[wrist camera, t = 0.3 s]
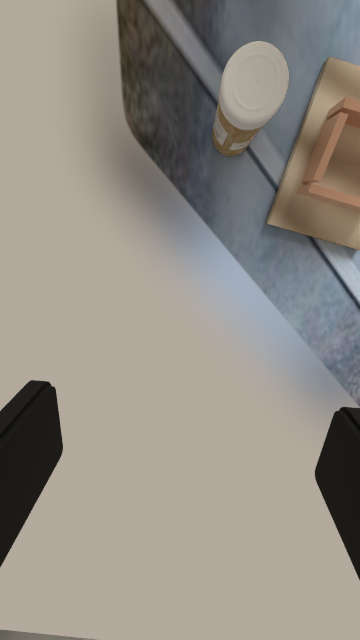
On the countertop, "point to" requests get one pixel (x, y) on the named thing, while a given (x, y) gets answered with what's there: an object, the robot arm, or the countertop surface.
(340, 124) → the collar
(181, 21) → the countertop surface
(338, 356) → the countertop surface
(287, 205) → the stand board
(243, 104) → the sprinkles bottle
